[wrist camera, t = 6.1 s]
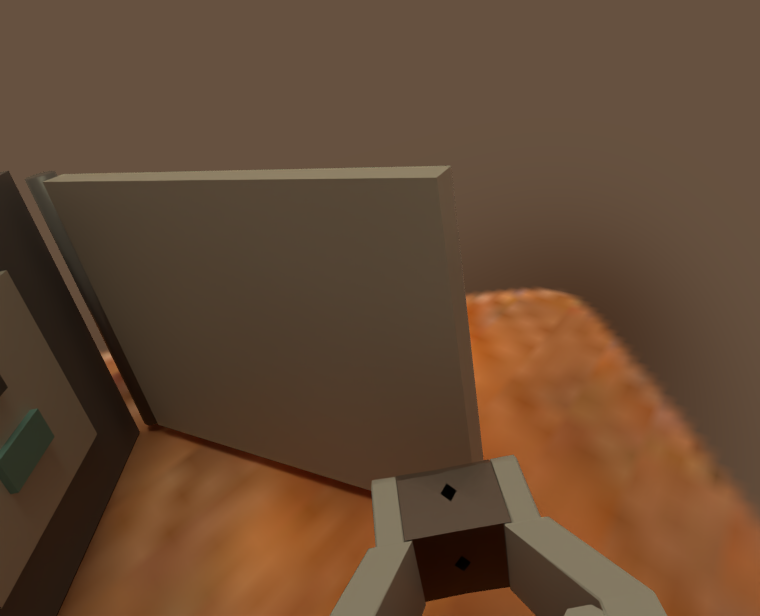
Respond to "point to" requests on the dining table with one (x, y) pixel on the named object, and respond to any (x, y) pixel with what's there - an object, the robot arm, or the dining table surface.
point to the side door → (282, 309)
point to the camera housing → (49, 422)
